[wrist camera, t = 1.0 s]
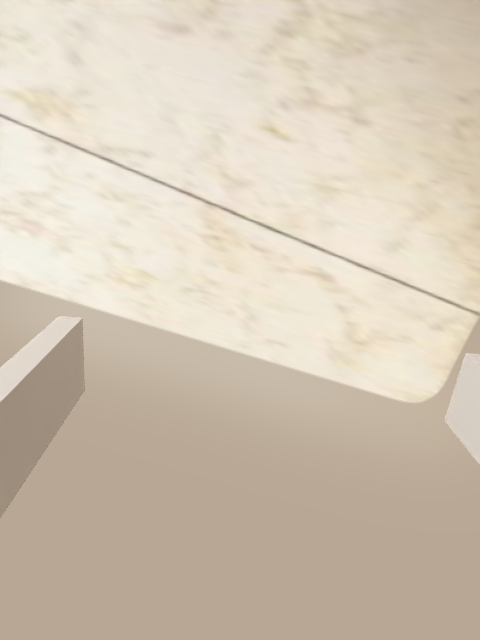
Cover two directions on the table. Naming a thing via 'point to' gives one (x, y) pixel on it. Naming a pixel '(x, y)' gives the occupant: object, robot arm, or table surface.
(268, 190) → the table surface
